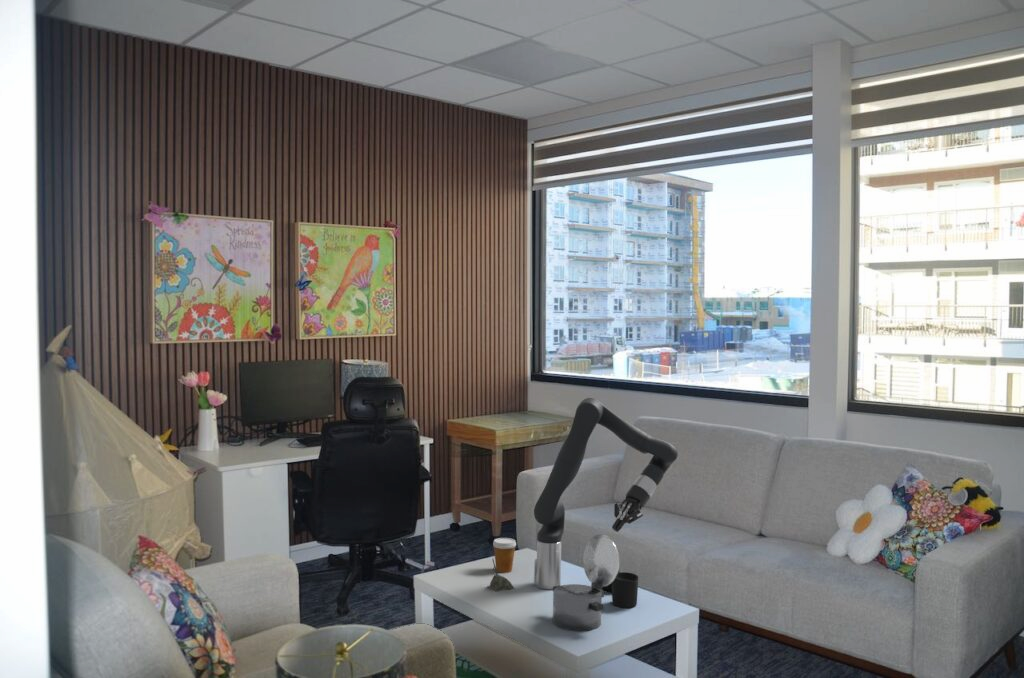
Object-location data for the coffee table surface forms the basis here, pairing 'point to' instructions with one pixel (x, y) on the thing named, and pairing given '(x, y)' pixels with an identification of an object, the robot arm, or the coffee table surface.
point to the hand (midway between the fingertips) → (614, 530)
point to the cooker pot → (577, 607)
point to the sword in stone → (499, 582)
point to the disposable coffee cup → (504, 554)
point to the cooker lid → (601, 561)
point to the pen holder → (625, 590)
